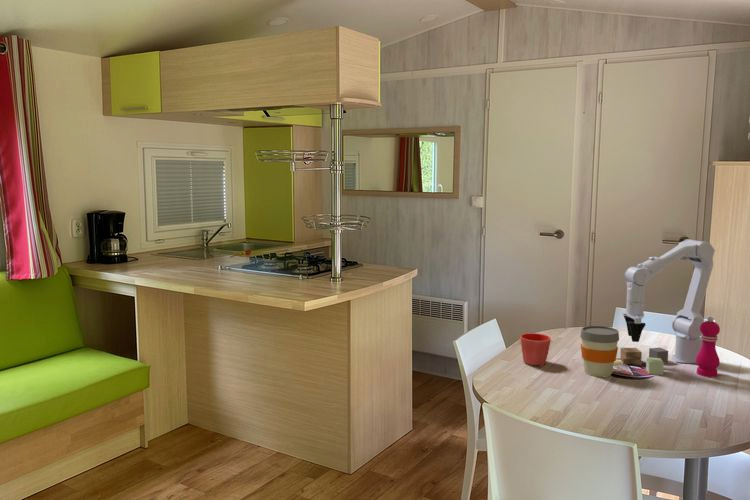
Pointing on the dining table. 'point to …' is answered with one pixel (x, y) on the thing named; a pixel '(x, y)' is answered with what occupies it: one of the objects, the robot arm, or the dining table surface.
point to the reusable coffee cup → (599, 349)
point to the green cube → (654, 366)
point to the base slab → (630, 361)
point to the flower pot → (535, 348)
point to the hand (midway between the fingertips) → (633, 338)
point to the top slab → (631, 353)
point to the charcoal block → (659, 354)
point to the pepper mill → (708, 349)
